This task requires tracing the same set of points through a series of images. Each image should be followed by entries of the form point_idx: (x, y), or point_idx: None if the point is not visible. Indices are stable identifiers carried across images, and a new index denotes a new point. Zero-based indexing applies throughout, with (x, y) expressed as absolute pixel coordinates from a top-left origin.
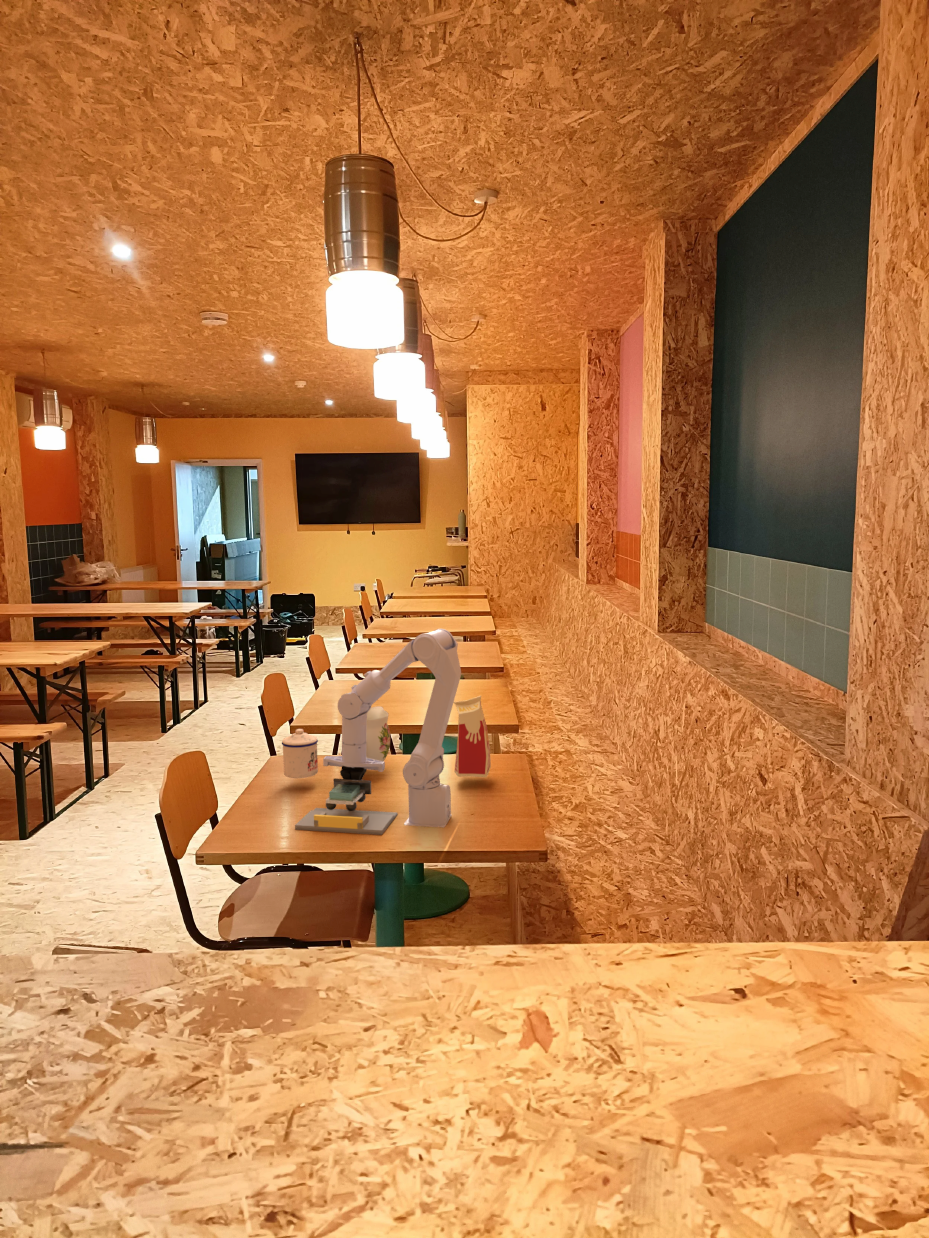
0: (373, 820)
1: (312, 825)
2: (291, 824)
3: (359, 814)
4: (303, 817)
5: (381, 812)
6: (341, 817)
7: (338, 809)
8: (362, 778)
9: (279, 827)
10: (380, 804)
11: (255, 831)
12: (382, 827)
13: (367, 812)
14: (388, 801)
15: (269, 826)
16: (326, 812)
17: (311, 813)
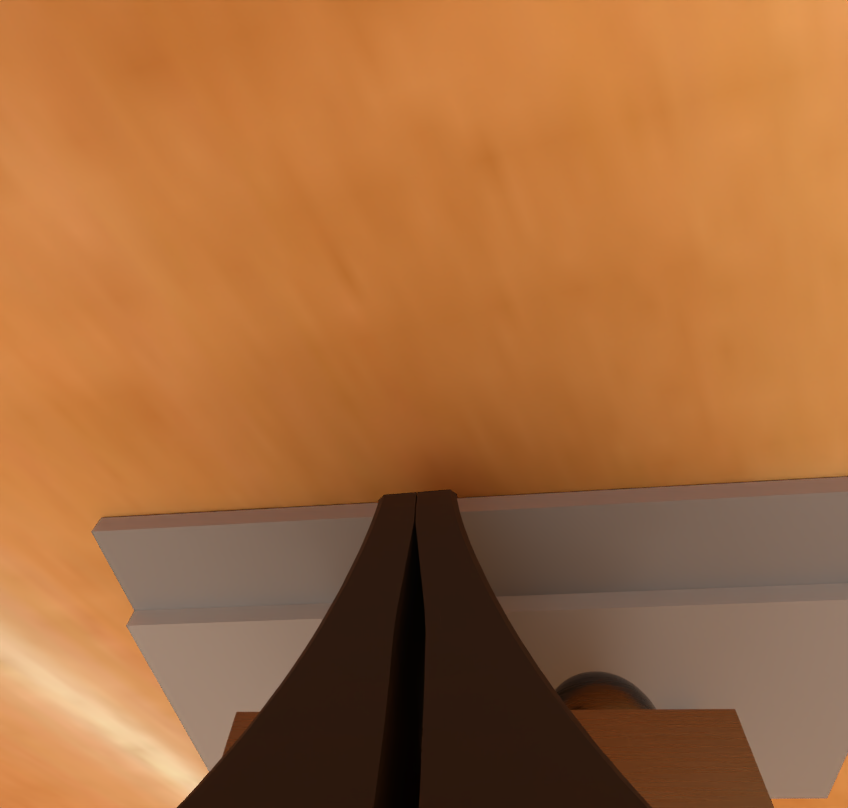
0: (735, 699)
1: None
2: (156, 728)
3: (580, 634)
4: (185, 724)
5: (764, 513)
6: None
7: (313, 527)
8: (546, 681)
9: (126, 762)
10: (687, 233)
11: (54, 804)
12: (827, 770)
13: (620, 537)
14: (786, 82)
15: (61, 760)
16: (281, 641)
17: (182, 670)
